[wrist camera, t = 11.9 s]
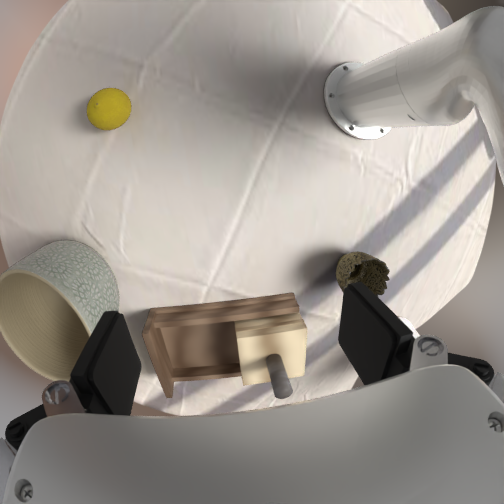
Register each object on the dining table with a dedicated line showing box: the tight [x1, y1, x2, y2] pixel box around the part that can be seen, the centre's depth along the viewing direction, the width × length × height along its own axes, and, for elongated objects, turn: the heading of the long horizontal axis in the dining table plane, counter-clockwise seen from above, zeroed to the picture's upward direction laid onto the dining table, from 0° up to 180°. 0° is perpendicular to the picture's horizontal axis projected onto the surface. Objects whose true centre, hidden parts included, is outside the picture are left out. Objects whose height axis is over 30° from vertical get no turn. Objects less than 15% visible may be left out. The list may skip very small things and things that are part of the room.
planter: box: [0, 240, 119, 382], centre depth 31 cm, size 17×17×15 cm
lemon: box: [87, 88, 131, 130], centre depth 27 cm, size 6×6×8 cm
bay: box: [142, 293, 299, 398], centre depth 41 cm, size 23×14×7 cm, turn 94°
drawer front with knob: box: [234, 312, 307, 399], centre depth 38 cm, size 10×10×13 cm
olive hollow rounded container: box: [336, 252, 389, 296], centre depth 39 cm, size 8×7×8 cm
